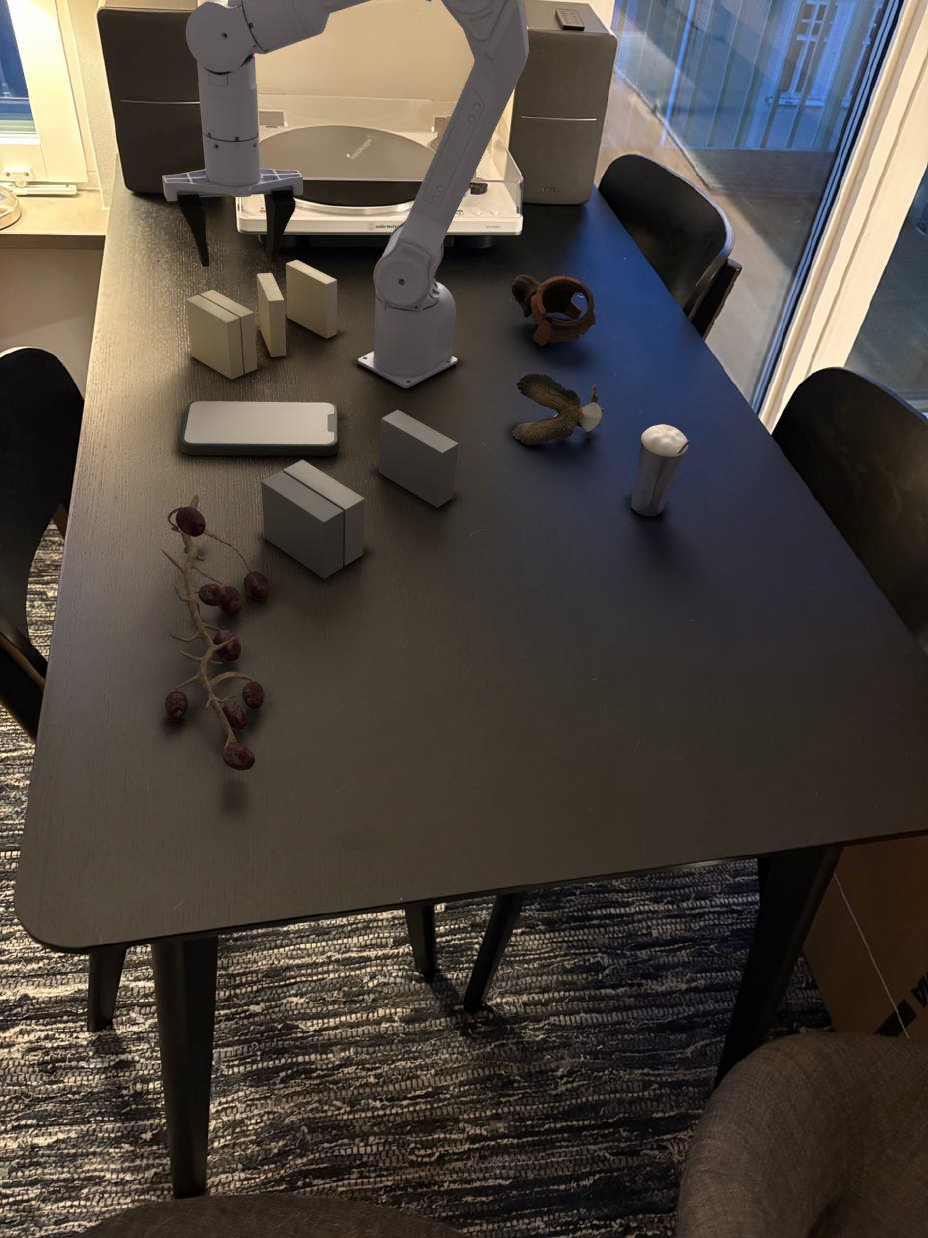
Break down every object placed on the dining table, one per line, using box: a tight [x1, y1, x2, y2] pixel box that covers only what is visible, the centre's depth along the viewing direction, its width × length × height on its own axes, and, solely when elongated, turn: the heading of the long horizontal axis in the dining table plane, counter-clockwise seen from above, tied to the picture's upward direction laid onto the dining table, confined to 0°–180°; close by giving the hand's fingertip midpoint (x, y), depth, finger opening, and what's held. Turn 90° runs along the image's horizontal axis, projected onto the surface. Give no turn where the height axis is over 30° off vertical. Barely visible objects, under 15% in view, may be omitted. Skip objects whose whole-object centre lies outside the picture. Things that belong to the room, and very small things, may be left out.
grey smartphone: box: [179, 400, 340, 457], centre depth 102 cm, size 9×2×16 cm
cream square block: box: [256, 272, 287, 358], centre depth 114 cm, size 2×7×7 cm, turn 20°
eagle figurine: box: [511, 372, 605, 446], centre depth 106 cm, size 8×7×9 cm
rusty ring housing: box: [510, 274, 597, 347], centre depth 123 cm, size 12×10×8 cm
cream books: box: [185, 259, 338, 380], centre depth 113 cm, size 17×7×7 cm, turn 140°
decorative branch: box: [160, 494, 270, 771], centre depth 79 cm, size 11×9×30 cm
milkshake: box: [630, 423, 692, 517], centre depth 96 cm, size 5×5×10 cm
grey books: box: [260, 409, 459, 580], centre depth 92 cm, size 18×8×6 cm, turn 140°
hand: (238, 260), depth 109 cm, fingers open, 7 cm apart
